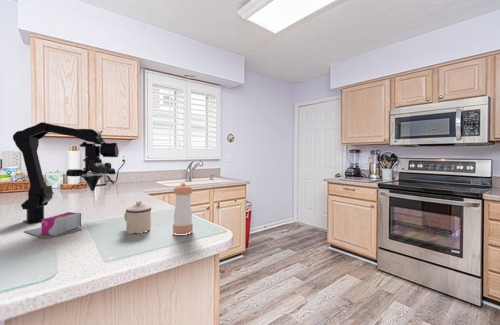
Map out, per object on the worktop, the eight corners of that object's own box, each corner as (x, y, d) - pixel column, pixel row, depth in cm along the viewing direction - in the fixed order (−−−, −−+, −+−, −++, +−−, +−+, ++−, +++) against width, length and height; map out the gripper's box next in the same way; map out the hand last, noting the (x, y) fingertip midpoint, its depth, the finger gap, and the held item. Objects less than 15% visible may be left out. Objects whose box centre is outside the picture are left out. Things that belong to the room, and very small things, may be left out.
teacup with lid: (156, 229, 96) (156, 200, 95) (137, 235, 87) (137, 204, 87) (134, 225, 100) (134, 198, 100) (114, 231, 92) (115, 201, 92)
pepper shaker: (168, 234, 90) (169, 183, 89) (181, 229, 96) (181, 182, 96) (184, 237, 87) (185, 185, 86) (196, 231, 94) (196, 183, 93)
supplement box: (81, 212, 96) (55, 220, 85) (81, 226, 96) (55, 236, 85) (68, 211, 97) (40, 219, 85) (68, 225, 97) (40, 235, 86)
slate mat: (24, 231, 90) (24, 230, 90) (61, 224, 100) (61, 223, 100) (44, 239, 82) (44, 238, 82) (81, 230, 93) (81, 229, 93)
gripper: (79, 157, 97) (79, 195, 97) (122, 157, 113) (122, 189, 114) (65, 156, 102) (65, 192, 102) (108, 157, 119) (108, 188, 119)
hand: (92, 190), depth 109 cm, fingers closed
